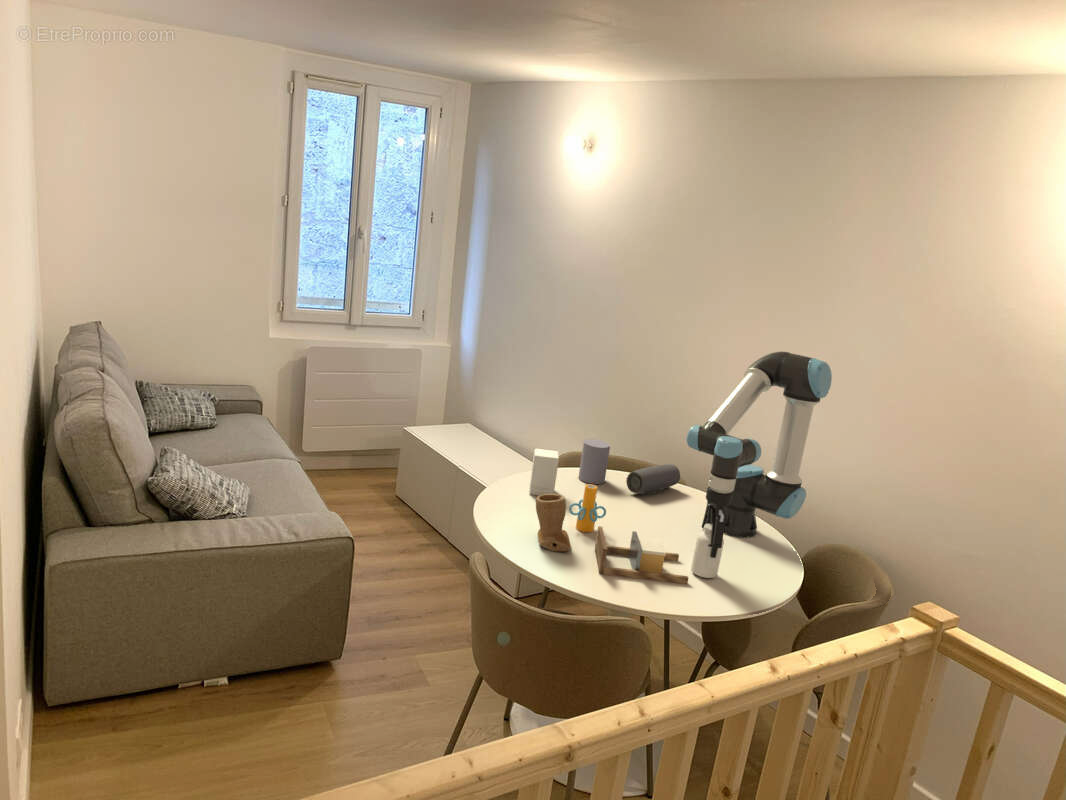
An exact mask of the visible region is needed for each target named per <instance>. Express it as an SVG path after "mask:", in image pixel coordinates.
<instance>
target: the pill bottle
mask: <svg viewBox="0 0 1066 800" xmlns="http://www.w3.org/2000/svg"><path fill="white" fill-rule="evenodd" d="M711 531H712V524H705V525H704V530H703V529H702V531H701V532H699V533H698V534H697V537H696V542H695V547H694V551H693V555H692V561H691V567H690V570H691V572H692V573H693V574H694V575H696V576H698V577H702V578H707V579H713V578H715V577H717V576H718V573H719V572H718V571H719V567H720V563H721V559H722V558H721V557H722V555H723V554H722V553H723V550H724V544H725V541H724V538H723V541H722V548H718V553H717V558H716V564H715V567H708V566H705V564H706V558H707V553H708V548H709V547H708V544H709V545H710V544H711Z"/></svg>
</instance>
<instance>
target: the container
mask: <svg viewBox="0 0 1066 800" xmlns="http://www.w3.org/2000/svg"><path fill="white" fill-rule="evenodd" d="M610 449H611V444H610V443H609V442H607V441H604V440H601V439H595V438H594V439H593V438H589V439H588V438H587V439H584V441H583V445H582V453H581V458H580V464H579V473H578V479H579V480H580V481H581V482H584V483H587V484H592V485H600V484H604V483H605V482H606V481H605V480H606V474H607V469H608V463H609V456H610Z"/></svg>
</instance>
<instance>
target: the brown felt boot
mask: <svg viewBox="0 0 1066 800" xmlns="http://www.w3.org/2000/svg"><path fill="white" fill-rule="evenodd" d="M566 510H567V502H566V498H565V497H564V496H563V495H561V494H558V493H554V494H543V495H537V497H536V498H535V511H536V515H537V518H538V519H537V520H538V523H539V529H538V530H537V539H538V543H539V545H540V546H541V547H543V548H545V549H547V550H549V551H552V552H567V551H569V550H570V551H571V549H572V546H571V542H570V536H569V533H568V531H566V530H564V529H563V524H564V521H565V517H566Z"/></svg>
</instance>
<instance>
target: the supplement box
mask: <svg viewBox="0 0 1066 800" xmlns="http://www.w3.org/2000/svg"><path fill="white" fill-rule="evenodd" d="M559 456H560V455H559V451H557V450H552V449H551V450H549V449H543V448H535V449H534V451H533V460H532V466H531V467H532V468H531V474H530V475H531V476H530V482H529V492H528V493H529V495H532V496H540V495H543V494H555V488H556V487H555V486H556V481H557V476H558V475H557V474H558V469H559V460H560V457H559Z"/></svg>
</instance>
